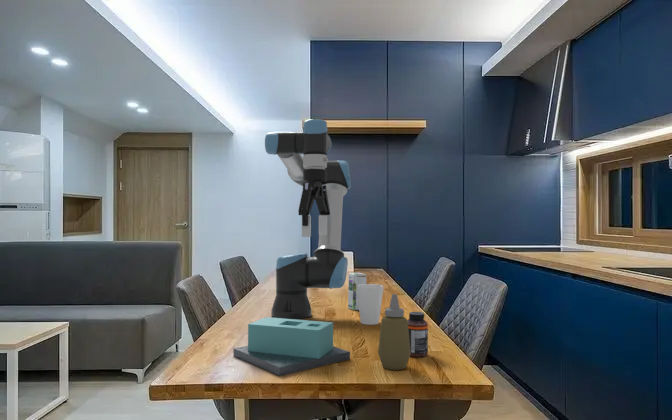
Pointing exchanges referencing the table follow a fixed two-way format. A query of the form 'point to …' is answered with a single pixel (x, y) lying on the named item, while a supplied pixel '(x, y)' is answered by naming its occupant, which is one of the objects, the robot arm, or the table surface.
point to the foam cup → (369, 302)
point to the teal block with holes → (290, 337)
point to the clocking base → (289, 360)
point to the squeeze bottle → (394, 337)
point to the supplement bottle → (418, 334)
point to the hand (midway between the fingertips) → (314, 236)
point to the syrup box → (354, 289)
